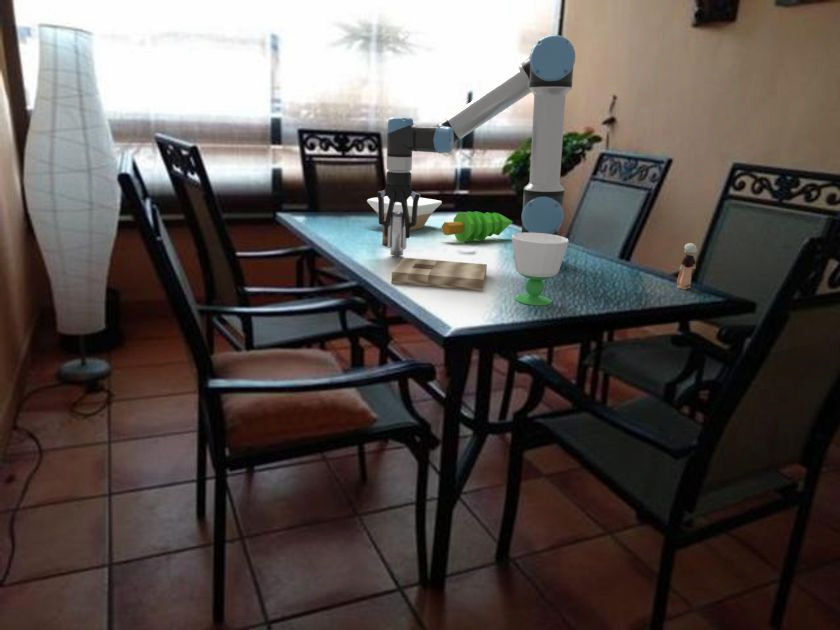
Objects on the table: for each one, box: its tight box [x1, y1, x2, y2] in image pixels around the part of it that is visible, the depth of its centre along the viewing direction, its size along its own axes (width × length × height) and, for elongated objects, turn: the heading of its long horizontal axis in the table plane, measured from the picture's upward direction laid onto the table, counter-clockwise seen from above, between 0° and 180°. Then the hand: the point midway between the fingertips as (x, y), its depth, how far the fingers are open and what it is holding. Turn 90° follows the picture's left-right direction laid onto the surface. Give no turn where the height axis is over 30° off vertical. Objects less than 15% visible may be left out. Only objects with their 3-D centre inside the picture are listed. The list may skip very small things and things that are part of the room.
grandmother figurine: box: [676, 242, 698, 290], centre depth 176 cm, size 8×4×13 cm, turn 141°
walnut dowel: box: [382, 220, 391, 246], centre depth 215 cm, size 4×4×8 cm
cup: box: [511, 232, 570, 307], centre depth 156 cm, size 14×14×16 cm
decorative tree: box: [441, 210, 514, 243], centre depth 230 cm, size 11×12×30 cm
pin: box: [389, 212, 404, 257], centre depth 196 cm, size 4×4×13 cm
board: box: [390, 257, 488, 292], centre depth 174 cm, size 24×18×3 cm
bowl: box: [366, 195, 443, 231], centre depth 249 cm, size 24×25×11 cm
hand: (397, 247), depth 198 cm, fingers closed on pin, 4 cm apart
